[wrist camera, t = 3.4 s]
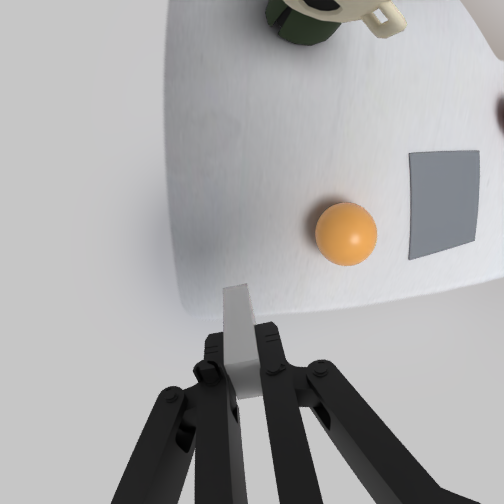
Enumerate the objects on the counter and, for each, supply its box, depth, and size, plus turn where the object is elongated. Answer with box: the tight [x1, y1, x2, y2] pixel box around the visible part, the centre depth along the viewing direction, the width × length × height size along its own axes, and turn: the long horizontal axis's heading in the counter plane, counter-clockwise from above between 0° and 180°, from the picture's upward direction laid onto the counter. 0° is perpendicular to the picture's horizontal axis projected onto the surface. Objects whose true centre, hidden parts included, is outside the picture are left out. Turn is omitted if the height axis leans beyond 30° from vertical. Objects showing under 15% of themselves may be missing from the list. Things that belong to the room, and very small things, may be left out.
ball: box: [315, 202, 377, 266], centre depth 23 cm, size 6×6×6 cm
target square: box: [409, 151, 480, 260], centre depth 26 cm, size 12×12×1 cm
